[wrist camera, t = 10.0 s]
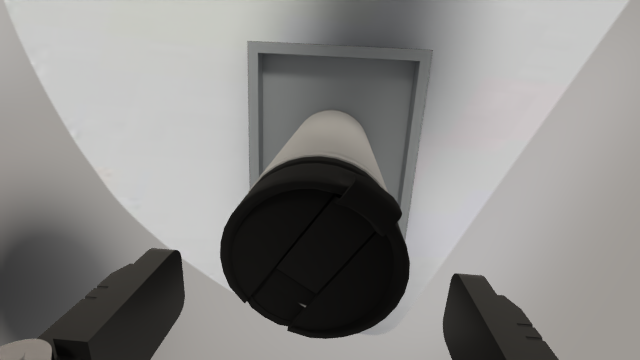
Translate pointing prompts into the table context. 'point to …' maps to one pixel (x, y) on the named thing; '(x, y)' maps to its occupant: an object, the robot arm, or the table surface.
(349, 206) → the travel mug
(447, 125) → the table surface
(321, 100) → the tray
